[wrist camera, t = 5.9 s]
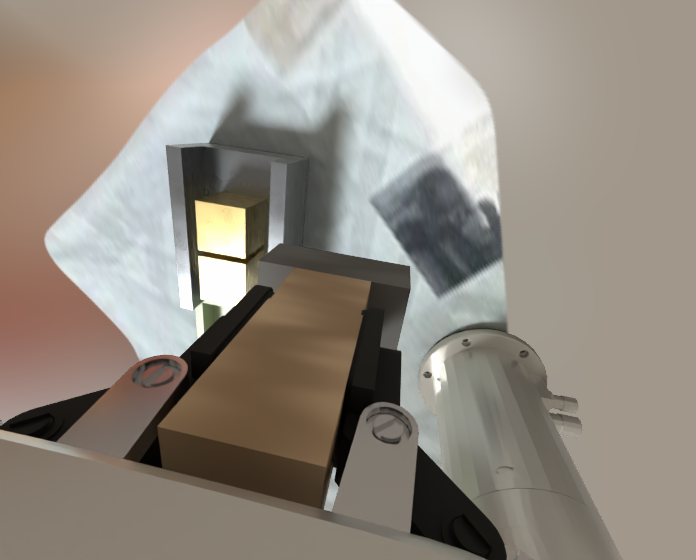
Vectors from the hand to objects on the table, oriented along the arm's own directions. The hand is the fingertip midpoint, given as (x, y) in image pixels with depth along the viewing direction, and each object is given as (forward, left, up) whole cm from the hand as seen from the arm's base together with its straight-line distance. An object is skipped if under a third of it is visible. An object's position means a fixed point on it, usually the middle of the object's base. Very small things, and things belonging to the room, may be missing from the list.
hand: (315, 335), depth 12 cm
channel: (+11, +3, -21) cm, 24 cm away
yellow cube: (+11, +6, -18) cm, 22 cm away
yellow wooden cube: (+11, +2, -18) cm, 21 cm away
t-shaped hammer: (0, 0, -5) cm, 5 cm away
